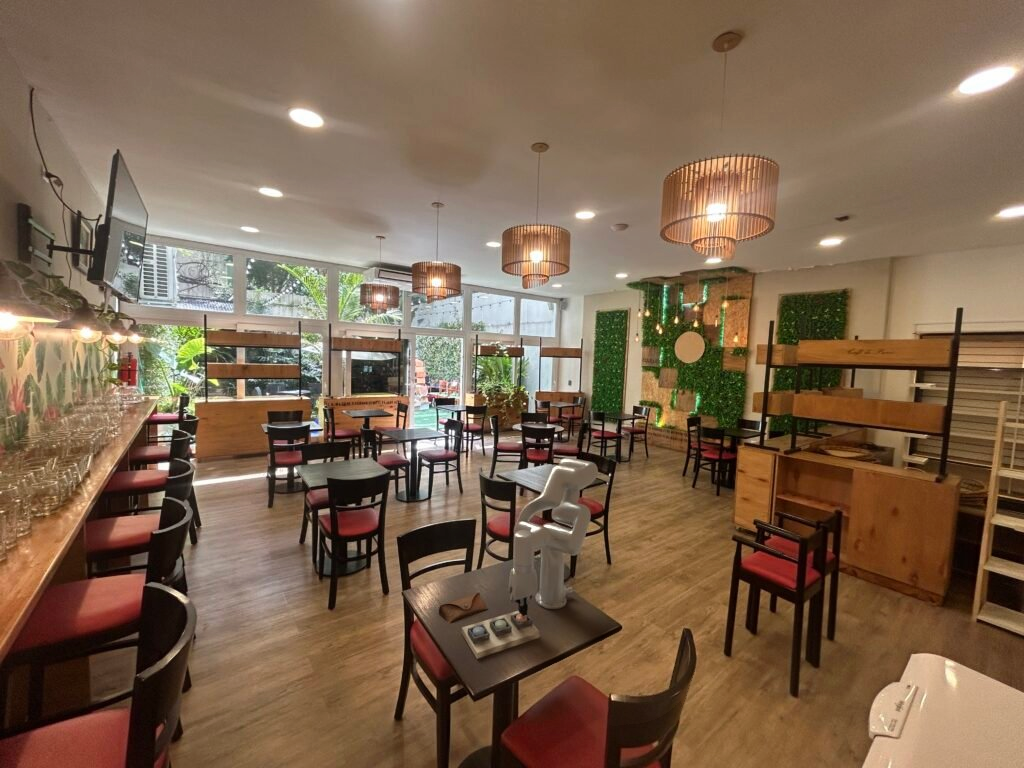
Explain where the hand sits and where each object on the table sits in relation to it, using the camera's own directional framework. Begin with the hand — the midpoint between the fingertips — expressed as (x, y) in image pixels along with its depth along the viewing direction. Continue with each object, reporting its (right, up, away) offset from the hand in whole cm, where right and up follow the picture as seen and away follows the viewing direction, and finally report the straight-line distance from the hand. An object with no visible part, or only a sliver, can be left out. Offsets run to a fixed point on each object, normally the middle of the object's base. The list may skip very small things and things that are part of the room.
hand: (523, 613), depth 151 cm
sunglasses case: (-23, -5, +9) cm, 25 cm away
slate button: (-16, -3, -8) cm, 18 cm away
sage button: (-8, -3, -4) cm, 10 cm away
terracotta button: (-1, -3, 0) cm, 3 cm away
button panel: (-8, -5, -4) cm, 11 cm away
